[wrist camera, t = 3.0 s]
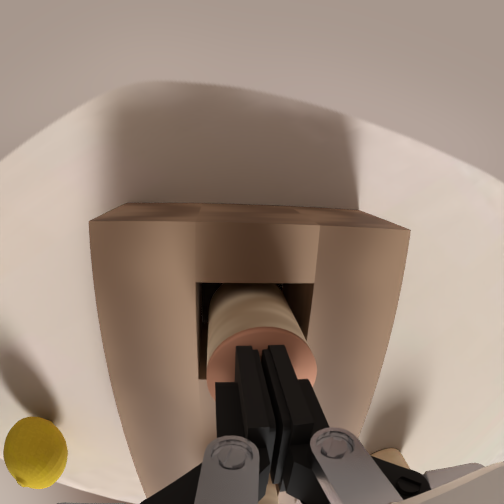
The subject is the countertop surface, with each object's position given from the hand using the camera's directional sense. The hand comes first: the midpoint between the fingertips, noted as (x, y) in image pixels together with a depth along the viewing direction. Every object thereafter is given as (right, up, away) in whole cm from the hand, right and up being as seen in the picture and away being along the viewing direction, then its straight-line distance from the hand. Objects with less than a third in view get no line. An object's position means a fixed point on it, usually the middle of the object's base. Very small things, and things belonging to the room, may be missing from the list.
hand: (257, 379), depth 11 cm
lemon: (-18, -11, +11) cm, 24 cm away
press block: (-1, -3, +11) cm, 11 cm away
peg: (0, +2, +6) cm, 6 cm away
